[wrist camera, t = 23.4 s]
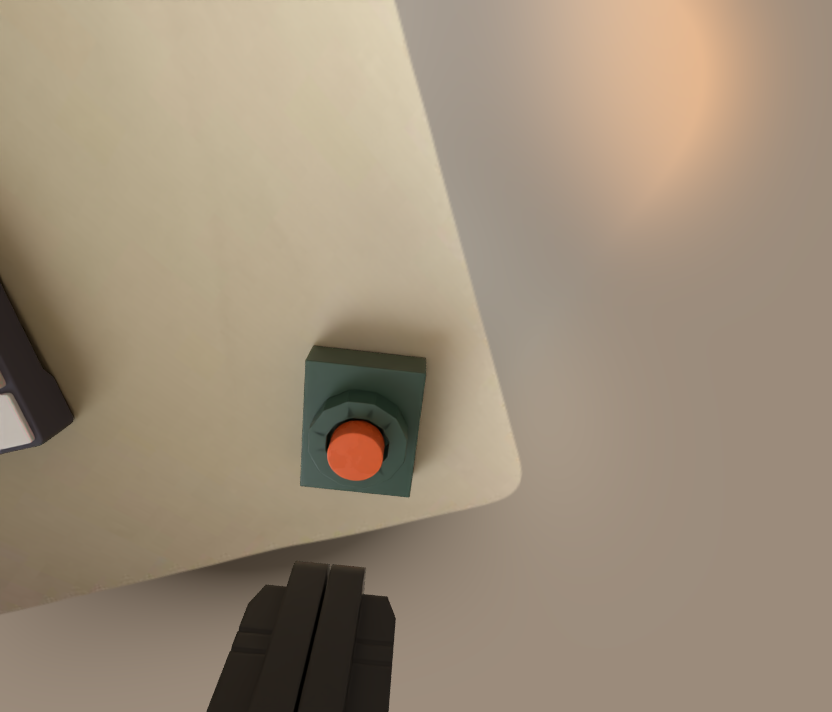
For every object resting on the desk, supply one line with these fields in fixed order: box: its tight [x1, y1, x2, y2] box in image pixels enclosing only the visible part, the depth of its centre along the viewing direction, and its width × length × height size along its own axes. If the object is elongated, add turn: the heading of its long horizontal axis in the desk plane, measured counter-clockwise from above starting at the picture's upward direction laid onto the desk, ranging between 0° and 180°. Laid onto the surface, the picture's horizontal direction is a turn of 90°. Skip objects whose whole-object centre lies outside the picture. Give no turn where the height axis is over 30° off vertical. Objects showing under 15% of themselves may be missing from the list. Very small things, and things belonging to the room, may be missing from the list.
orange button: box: [327, 420, 385, 481], centre depth 36 cm, size 4×4×2 cm
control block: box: [300, 346, 426, 497], centre depth 39 cm, size 8×10×4 cm
